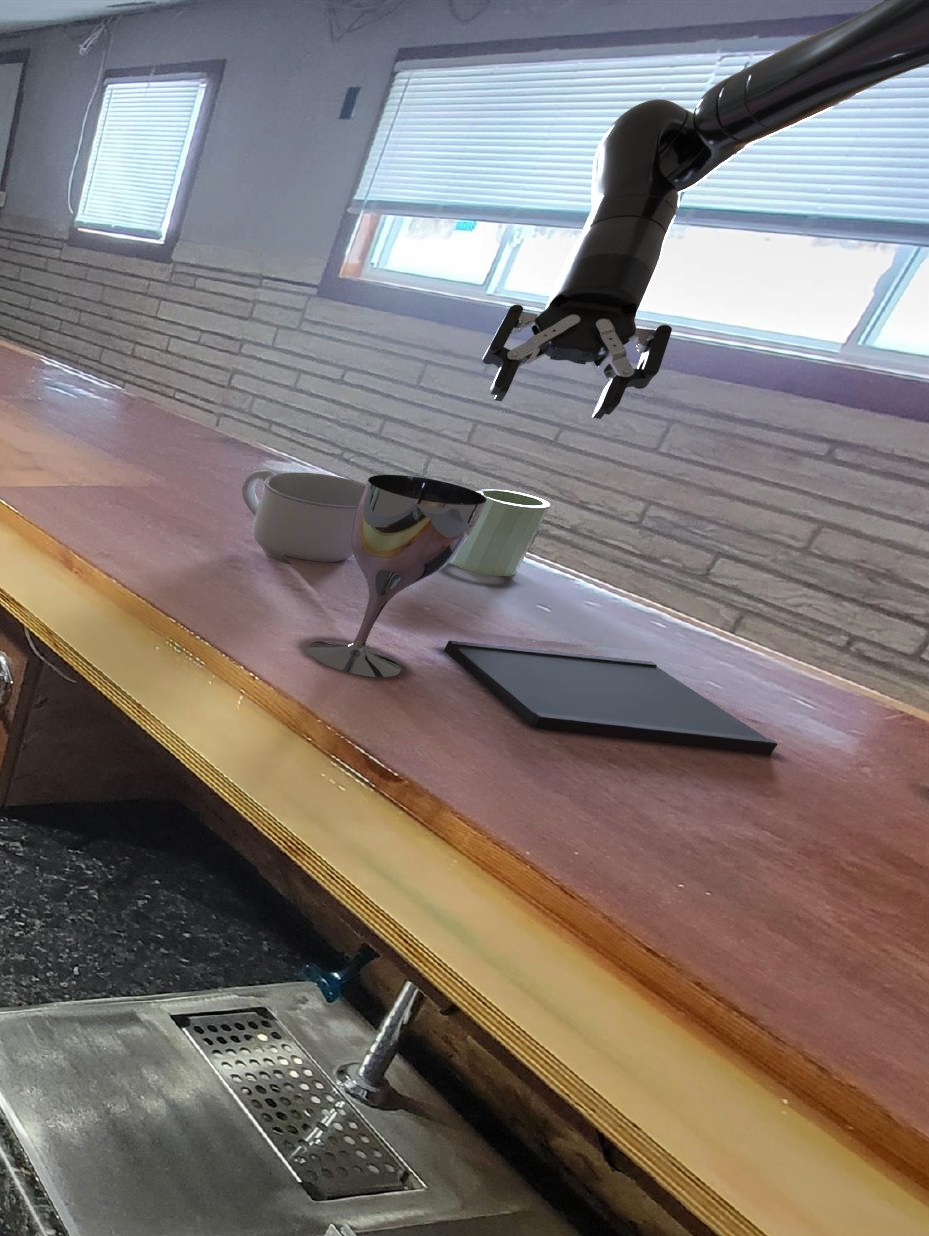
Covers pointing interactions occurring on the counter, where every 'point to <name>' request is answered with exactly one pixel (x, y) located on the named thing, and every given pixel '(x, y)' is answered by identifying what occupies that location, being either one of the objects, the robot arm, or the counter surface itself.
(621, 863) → the counter surface
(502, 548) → the cup
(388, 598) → the wine glass
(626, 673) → the bar mat
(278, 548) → the teacup
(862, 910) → the counter surface
